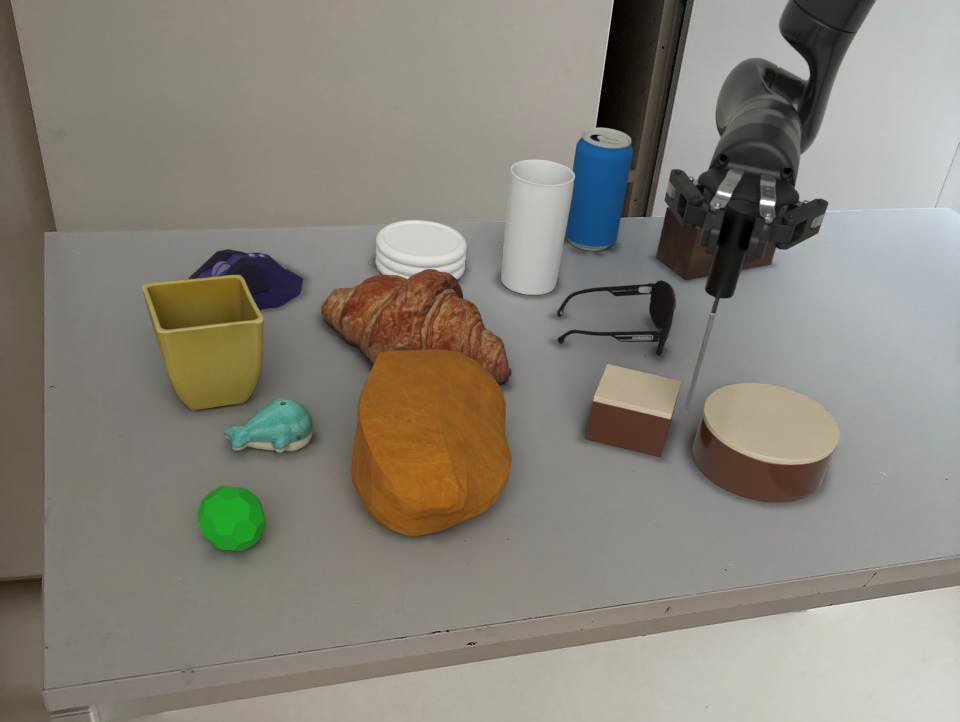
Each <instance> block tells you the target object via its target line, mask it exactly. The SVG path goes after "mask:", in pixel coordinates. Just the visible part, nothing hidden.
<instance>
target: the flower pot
mask: <svg viewBox="0 0 960 722" xmlns="http://www.w3.org/2000/svg"><path fill="white" fill-rule="evenodd" d="M188 279H189V278H188ZM188 279H178V280H167V281H158V282H149V283H143V284H142V285H141V290H142V295H143V297H144V301H145V305H146V309H147V312H148V315H149V319H150V323H151V327H152V331H153V334H154V337H155V340H156V343H157V346H158V348H159V352H160V354H161V356H162V359H163V363H164V365H165V369H166V372H167V376H168V378H169V381H170V383H171V385H172V388H173V389H174V391H175V393H176V394H177V396H178V397H179V399H180V400H181V401H182V403H184V405H185V406H186V407H187V408H188V409H189V410H191V411H196V410H203V409H212V408H219V407H225V406H232V405H240V404H244V403H247V402H248V400H249V399H250V397H251V396H252V395H253V393H254V391H255V390H256V387H257V385H258V384H259V380H260V378H261V372H262V367H263V351H264V349H263V348H264V327H265V325H264V324H265V323H264V322H265V318H264V316H263V313H262V312H261V311H260V310H261V309H258V307H257V305H256V303H255V302H254V300H253V298H252V296H251V293H250V291H249V289H248V287H247V285H246V282H245V280H244V278H243V277H242V276H241V275H227V276H218V277H208V278H198V279H189V280H188Z"/></svg>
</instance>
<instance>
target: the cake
mask: <svg viewBox="0 0 960 722" xmlns="http://www.w3.org/2000/svg"><path fill="white" fill-rule="evenodd" d="M840 437H841V430H840V427H839V424H838V422H837V421H836V419H835V417H834V416H833V415H832V414H831V413H830V412H829V411H828V409H826V408H825V407H824V406H823V405H821V404H820V403H818V402H817V401H816V400H813V399H812V398H810V397H809V396H806V395H805V394H802V393H800V392H797V391H795V390H792V389H790V388H786V387H783V386H778V385H775V384H769V383H763V382H762V383H761V382H739V383H732V384H729V385H724V386H722V387H719V388H717V389H716V390H714V391H713V392H711V394H709V396H707V398H706V400H705V402H704V404H703V408H702V411H701V415H700V418H699V421H698V426H697V428H696V432H695V436H694V439H693V443H692V446H691V447H692V448H691V453H692V457H693V461H694V463H695V465H696V466H697V468H698V469H699V470H700V472H701V473H702V475H704V476H705V477H706V478H707V479H708V480H710V481H711V482H712V483H713V484H715V485H717V486H719V487H720V488H722V489H724V490H725V491H728V492H730V493H732V494H735V495H736V496H740V497H743V498H747V499H750V500H754V501H760V502H768V503H787V502H795V501H798V500H799V501H800V500H802V499H805V498H807V497H809V496H811V495H812V494H814V493H815V492H817V490H819V488H820V487H821V485H822V483H823V481H824V478H825V476H826V473H827V470H828V469H829V466H830V464H831V462H832V459H833V457H834V454H835V452H836V449H837V447H838V444H839V443H840Z"/></svg>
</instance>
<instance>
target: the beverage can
mask: <svg viewBox="0 0 960 722" xmlns="http://www.w3.org/2000/svg"><path fill="white" fill-rule="evenodd" d="M574 151H575V152H574V158H573V165H572V169H571V170H572V171H573V172H574V174H575V179H574V186H573V193H572V199H571V205H570V211H569V216H568V222H567V228H566V233H565V239H566V240H568V242H569V243H570V244H571V245H572V246H573V247H575V248H577V249H581V250H582V251H583V250H584V251H588V252H589V251H590V252H591V251H592V252H598V251H603V250H606V249H608V248H609V247H610V246H612V245H614V244H615V243H616V242H617V239H618V235H619V229H620V225H621V219H622V213H623V209H624V203H625V197H626V193H627V187H628V181H629V177H630V171H631V165H632V162H633V161H632V160H633V155H634V151H633V147H632V138H631V136H629V135H628V134H627V133H625V132H623V131H620V130H617V129H614V128H608V127H590V128H586V129H584V130H583V131H582V132H581V137H580V138H579V139H578V141H577V142H576V144H575V150H574Z"/></svg>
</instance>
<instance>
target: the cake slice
mask: <svg viewBox="0 0 960 722" xmlns="http://www.w3.org/2000/svg"><path fill="white" fill-rule="evenodd" d="M681 385H682V380H678V379H674V378H670V377H665V376H661V375H657V374H652V373H648V372H645V371H640V370H636V369H631V368H628V367H627V368H626V367H623V366H617V365H614V364H609V363H607V364H606V366H605V368H604V371H603V373H602V375H601V378H600V380H599V383H598V386H597V388H596V390H595V394H594V395H593V399H592V404H591V409H590V414H589V418H588V419H589V420H588V423H587V430H586V433H585V434H586V435H585V440H589V441H592V442H596V443H601V444H605V445H609V446H613V447H618V448H622V449H626V450H629V451H633V452H638V453H642V454H646V455H651V456H655V457H659V458H661V457H662V453H663V451H664V448H665V445H666V440H667V437H668V433H669V430H670V426H671V423H672V420H673V416H674V413H675V408H676V404H677V401H678V397H679V394H680V390H681Z"/></svg>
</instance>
